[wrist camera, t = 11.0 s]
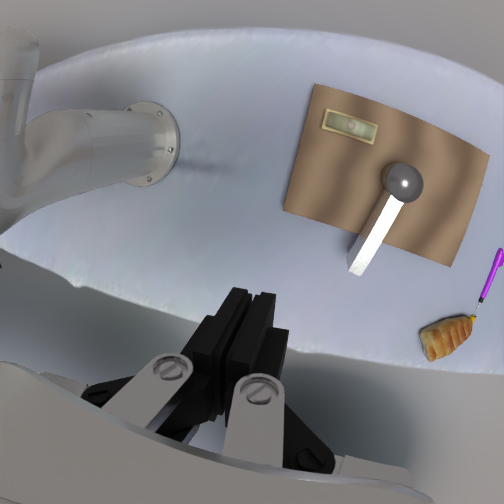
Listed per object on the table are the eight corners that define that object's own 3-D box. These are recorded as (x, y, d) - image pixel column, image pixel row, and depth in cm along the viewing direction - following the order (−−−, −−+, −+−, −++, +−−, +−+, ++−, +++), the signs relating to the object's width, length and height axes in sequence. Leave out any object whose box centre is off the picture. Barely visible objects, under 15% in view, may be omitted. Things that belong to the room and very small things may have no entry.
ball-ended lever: (389, 155, 29) (398, 157, 25) (417, 172, 29) (429, 177, 25) (337, 252, 35) (339, 267, 31) (364, 266, 35) (369, 282, 31)
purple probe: (497, 246, 31) (458, 335, 37) (501, 250, 30) (461, 339, 36) (505, 248, 31) (467, 334, 37) (510, 252, 30) (471, 338, 36)
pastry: (466, 303, 35) (475, 316, 31) (471, 332, 36) (479, 346, 33) (415, 329, 38) (421, 344, 35) (424, 356, 40) (429, 372, 36)
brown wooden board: (284, 206, 37) (278, 216, 33) (315, 86, 30) (314, 78, 26) (445, 261, 34) (458, 276, 29) (482, 154, 27) (500, 157, 23)
